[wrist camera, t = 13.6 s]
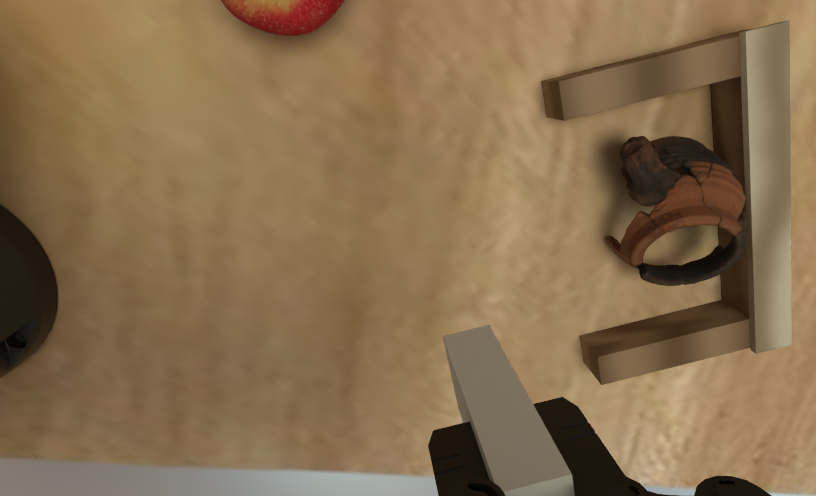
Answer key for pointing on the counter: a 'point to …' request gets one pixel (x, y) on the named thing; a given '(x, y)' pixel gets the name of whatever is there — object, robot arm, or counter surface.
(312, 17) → the apple
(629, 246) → the brown broken pot
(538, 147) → the counter surface
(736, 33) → the walnut pocket
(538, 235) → the counter surface
